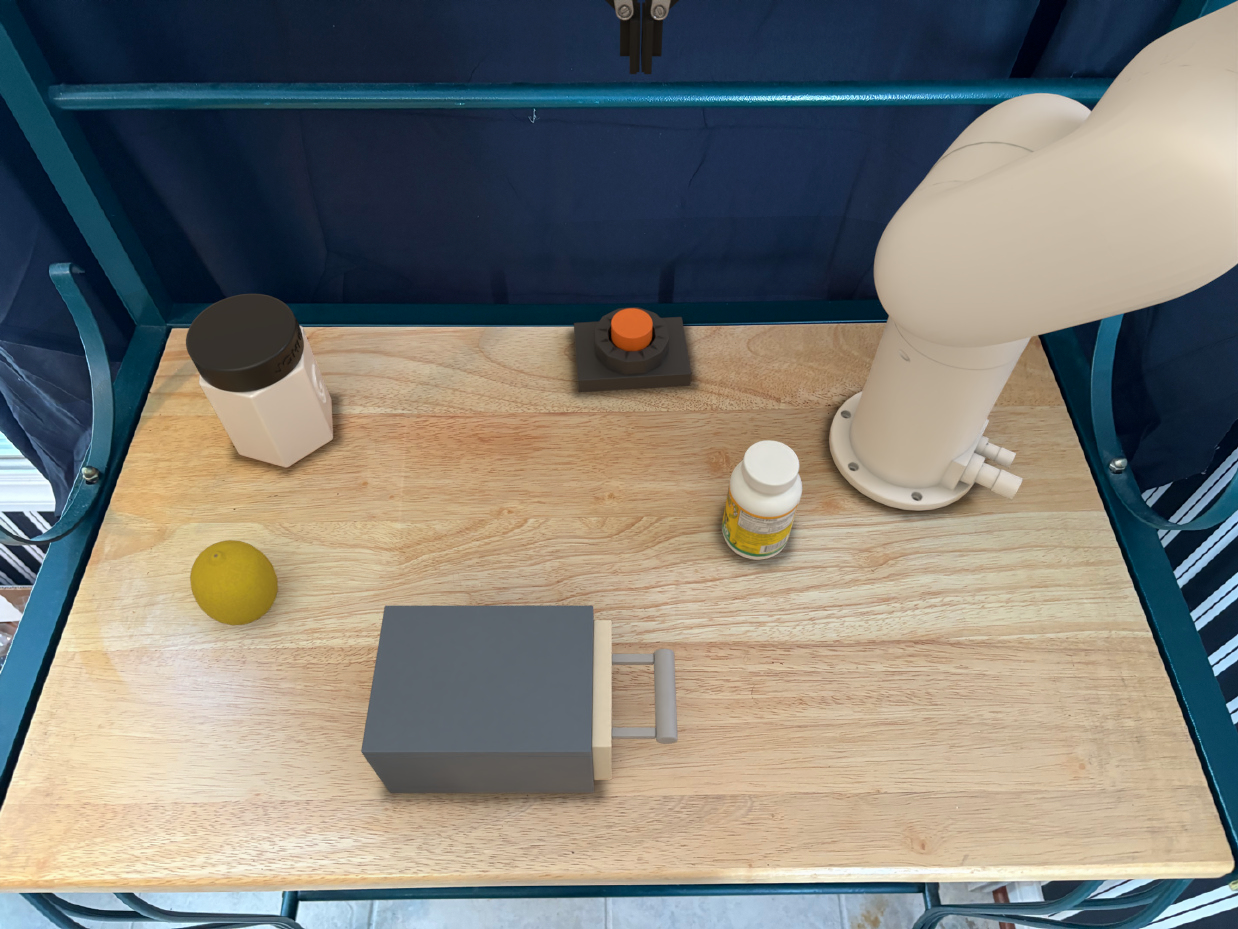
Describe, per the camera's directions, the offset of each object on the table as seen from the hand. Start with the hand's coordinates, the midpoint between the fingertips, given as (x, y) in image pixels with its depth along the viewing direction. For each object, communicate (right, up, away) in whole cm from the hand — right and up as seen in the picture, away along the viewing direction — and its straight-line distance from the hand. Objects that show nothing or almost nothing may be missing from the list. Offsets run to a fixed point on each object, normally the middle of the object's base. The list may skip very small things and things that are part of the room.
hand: (640, 63), depth 66 cm
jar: (-30, -26, +12) cm, 42 cm away
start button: (0, -18, +14) cm, 23 cm away
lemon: (-29, -40, +2) cm, 50 cm away
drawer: (-6, -47, -4) cm, 47 cm away
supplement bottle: (+9, -35, +6) cm, 37 cm away
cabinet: (-10, -47, -3) cm, 48 cm away
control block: (0, -20, +17) cm, 26 cm away
